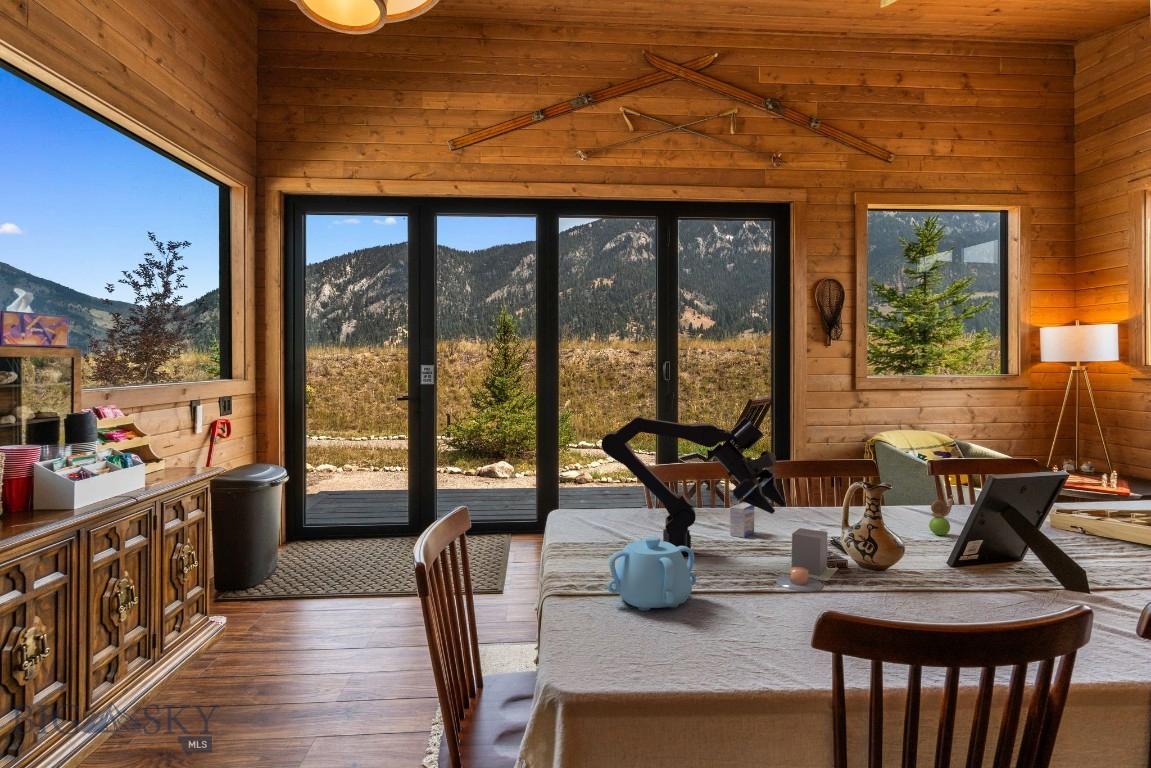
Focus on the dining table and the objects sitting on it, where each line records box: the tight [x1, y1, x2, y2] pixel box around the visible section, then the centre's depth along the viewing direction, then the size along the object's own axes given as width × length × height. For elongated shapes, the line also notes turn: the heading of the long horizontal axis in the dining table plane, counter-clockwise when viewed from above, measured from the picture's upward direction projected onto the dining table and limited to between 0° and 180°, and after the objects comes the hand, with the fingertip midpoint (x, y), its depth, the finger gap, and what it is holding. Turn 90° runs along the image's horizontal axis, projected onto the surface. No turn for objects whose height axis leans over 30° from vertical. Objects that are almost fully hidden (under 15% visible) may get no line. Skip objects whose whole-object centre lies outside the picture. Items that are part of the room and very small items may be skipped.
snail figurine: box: [928, 494, 955, 536], centre depth 188 cm, size 5×6×12 cm
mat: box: [779, 560, 839, 582], centre depth 155 cm, size 11×11×1 cm
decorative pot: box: [606, 535, 697, 612], centre depth 135 cm, size 16×16×14 cm
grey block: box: [791, 527, 829, 576], centre depth 155 cm, size 7×7×9 cm
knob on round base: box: [775, 567, 823, 593], centre depth 145 cm, size 10×10×4 cm
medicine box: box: [729, 502, 755, 539], centre depth 188 cm, size 8×4×9 cm, turn 143°
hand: (779, 508), depth 160 cm, fingers open, 9 cm apart
